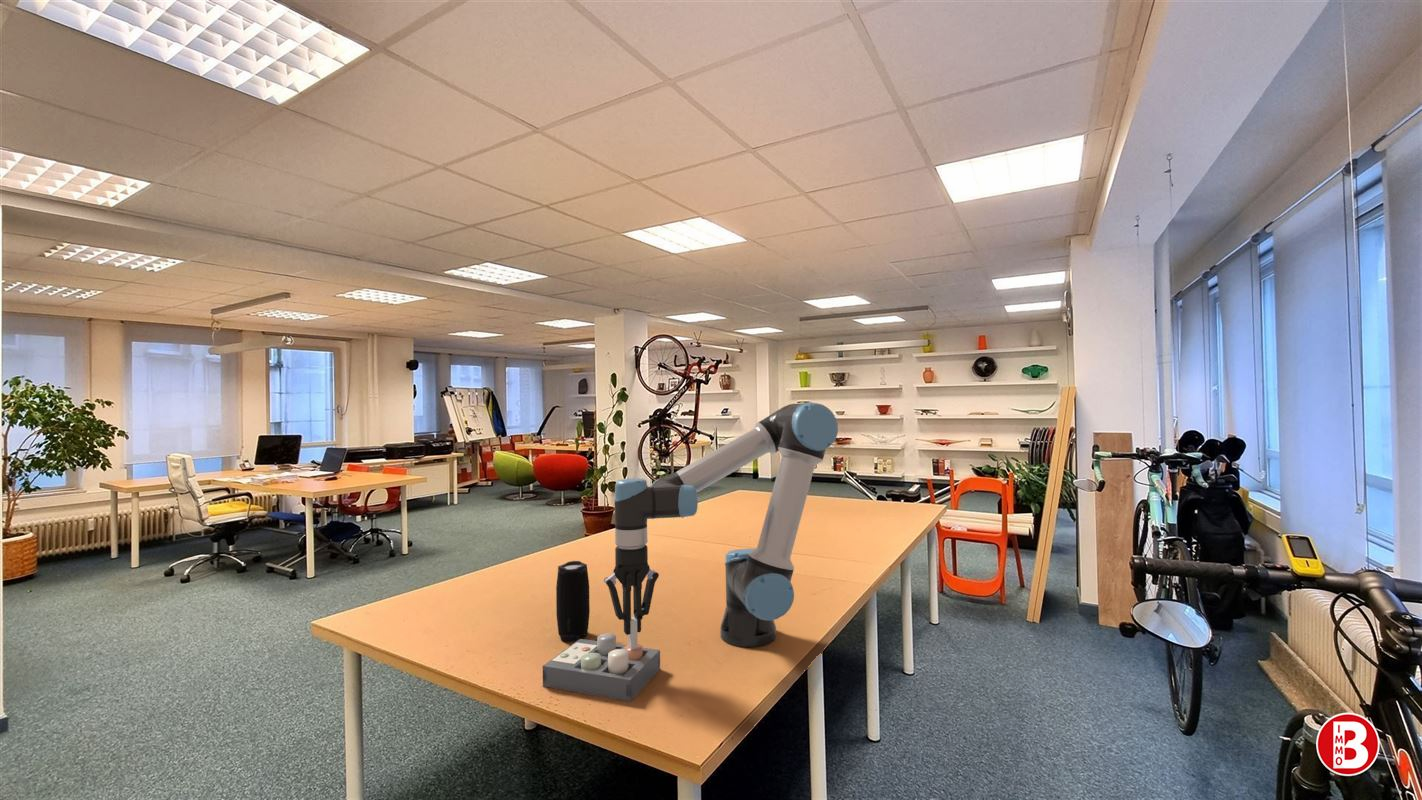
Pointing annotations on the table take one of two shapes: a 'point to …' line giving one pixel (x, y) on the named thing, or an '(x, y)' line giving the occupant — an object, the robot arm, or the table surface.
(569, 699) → the table surface
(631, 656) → the button terracotta
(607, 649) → the button grey
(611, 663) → the button ivory
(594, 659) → the button sage
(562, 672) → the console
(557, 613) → the portable speaker
